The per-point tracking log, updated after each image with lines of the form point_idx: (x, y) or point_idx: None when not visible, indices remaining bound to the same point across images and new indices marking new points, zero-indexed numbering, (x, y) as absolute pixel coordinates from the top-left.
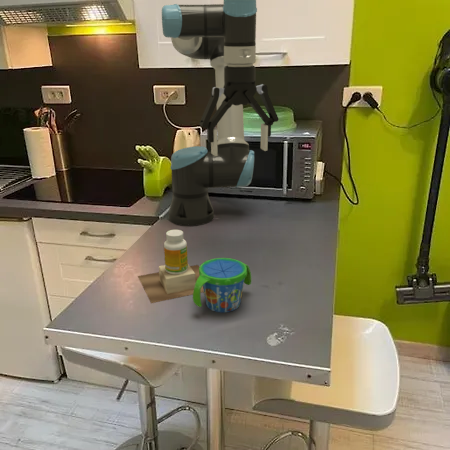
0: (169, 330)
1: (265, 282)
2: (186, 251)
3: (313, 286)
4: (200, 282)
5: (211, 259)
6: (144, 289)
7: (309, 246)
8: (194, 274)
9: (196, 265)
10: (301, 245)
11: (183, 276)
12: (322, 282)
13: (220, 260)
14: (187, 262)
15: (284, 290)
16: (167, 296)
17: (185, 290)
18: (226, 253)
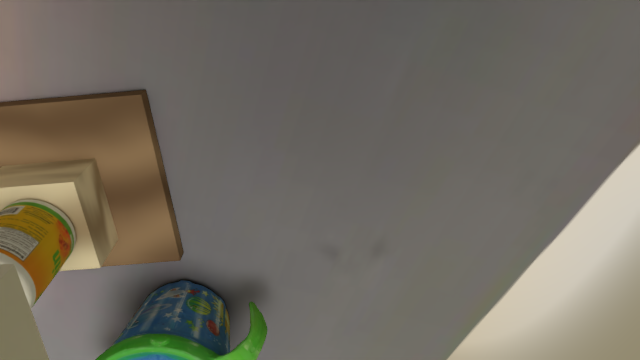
0: (48, 356)
1: (339, 234)
2: (42, 292)
3: (457, 287)
4: None
5: (131, 351)
6: None
7: (626, 38)
8: (99, 266)
9: (135, 98)
10: (604, 18)
11: (63, 269)
12: (494, 277)
13: (161, 356)
14: (65, 257)
15: (372, 284)
16: None
17: None
18: None
